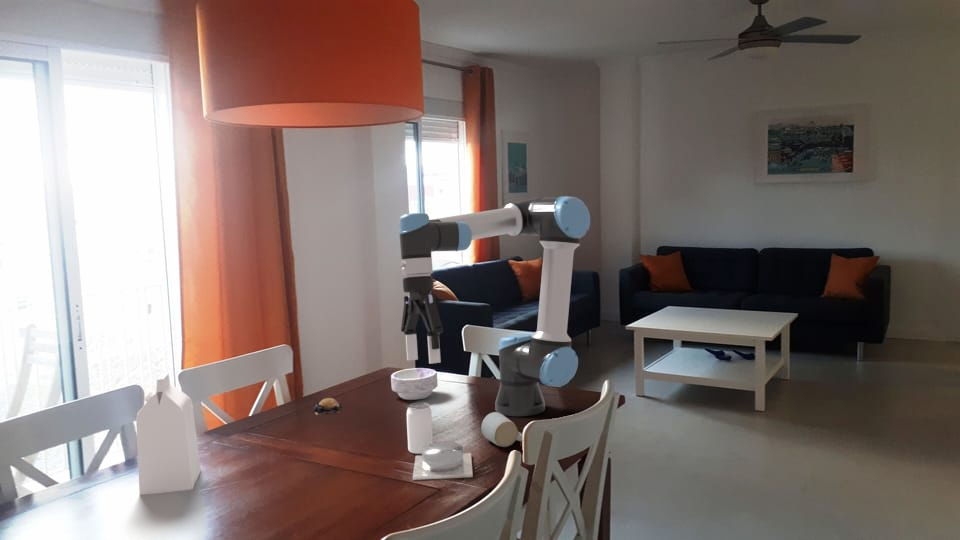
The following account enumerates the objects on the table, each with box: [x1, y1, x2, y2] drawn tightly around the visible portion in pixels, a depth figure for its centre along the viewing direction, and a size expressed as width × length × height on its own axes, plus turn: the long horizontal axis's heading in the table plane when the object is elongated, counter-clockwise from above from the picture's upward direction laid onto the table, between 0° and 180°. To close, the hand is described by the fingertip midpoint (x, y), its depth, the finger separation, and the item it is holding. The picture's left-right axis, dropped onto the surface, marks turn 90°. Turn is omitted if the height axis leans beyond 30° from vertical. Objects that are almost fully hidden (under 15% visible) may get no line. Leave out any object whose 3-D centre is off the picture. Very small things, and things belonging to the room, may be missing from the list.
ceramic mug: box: [480, 411, 523, 448], centre depth 197 cm, size 11×8×8 cm
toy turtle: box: [313, 397, 342, 416], centre depth 234 cm, size 11×8×4 cm
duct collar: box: [412, 441, 473, 481], centre depth 181 cm, size 14×14×5 cm
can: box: [406, 402, 434, 455], centre depth 193 cm, size 6×6×12 cm
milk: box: [135, 372, 202, 496], centre depth 176 cm, size 12×12×26 cm
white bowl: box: [390, 367, 438, 401], centre depth 245 cm, size 15×15×8 cm
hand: (423, 361), depth 184 cm, fingers open, 13 cm apart
